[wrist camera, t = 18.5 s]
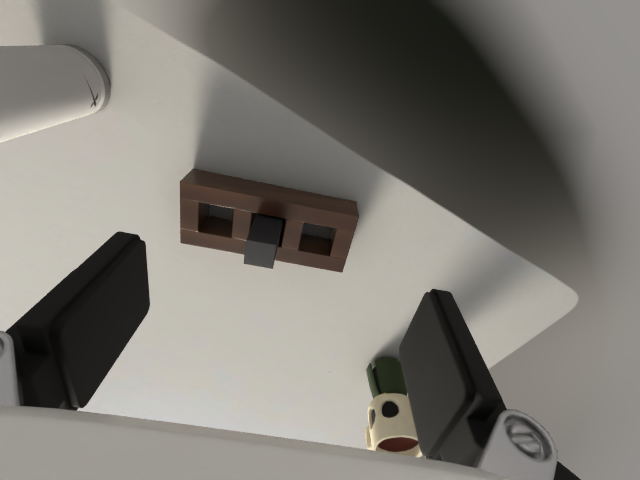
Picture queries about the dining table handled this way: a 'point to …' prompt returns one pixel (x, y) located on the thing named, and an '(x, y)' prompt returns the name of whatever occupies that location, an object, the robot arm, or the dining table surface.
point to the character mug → (390, 411)
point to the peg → (263, 241)
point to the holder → (269, 201)
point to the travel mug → (48, 87)
